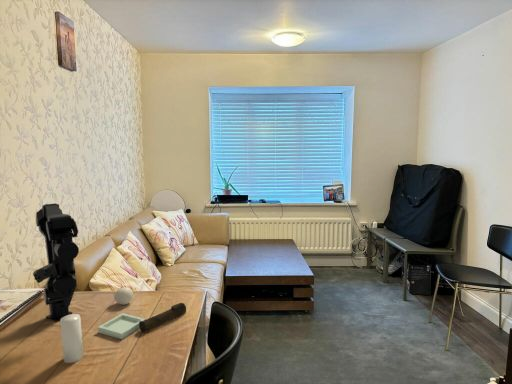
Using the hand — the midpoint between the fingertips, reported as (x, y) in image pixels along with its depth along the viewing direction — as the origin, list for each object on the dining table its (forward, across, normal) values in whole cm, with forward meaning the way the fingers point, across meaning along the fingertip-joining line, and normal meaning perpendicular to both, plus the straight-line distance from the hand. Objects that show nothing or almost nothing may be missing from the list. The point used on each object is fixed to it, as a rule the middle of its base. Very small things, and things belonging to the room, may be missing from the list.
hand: (67, 301), depth 113 cm
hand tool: (+14, +3, +30) cm, 33 cm away
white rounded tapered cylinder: (+13, +12, +1) cm, 18 cm away
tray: (+13, +1, +16) cm, 21 cm away
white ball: (+12, -20, +20) cm, 30 cm away
